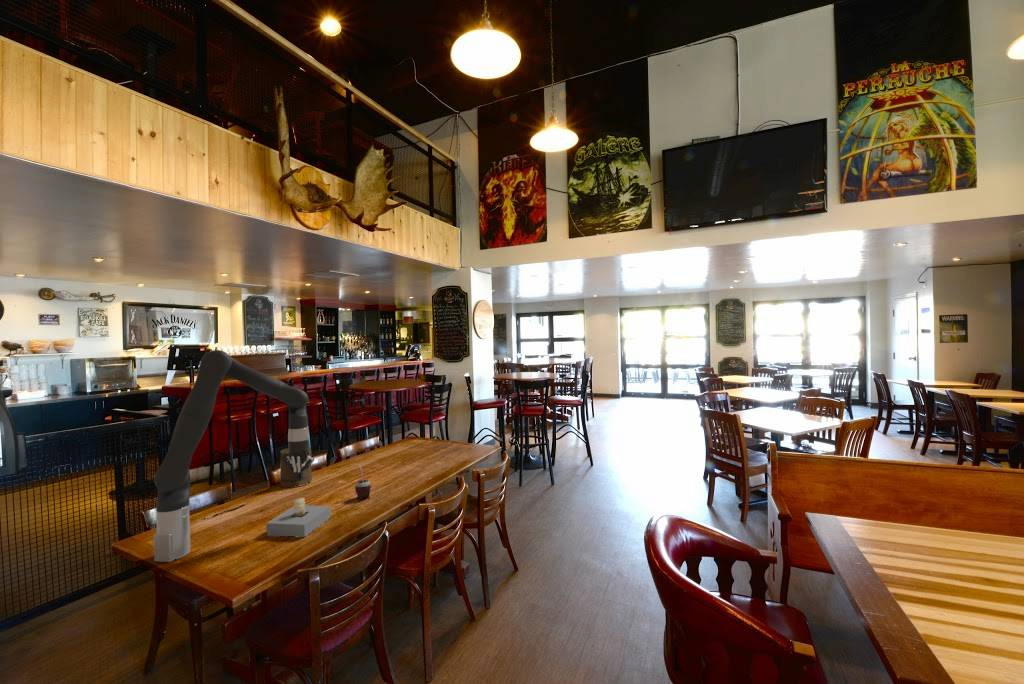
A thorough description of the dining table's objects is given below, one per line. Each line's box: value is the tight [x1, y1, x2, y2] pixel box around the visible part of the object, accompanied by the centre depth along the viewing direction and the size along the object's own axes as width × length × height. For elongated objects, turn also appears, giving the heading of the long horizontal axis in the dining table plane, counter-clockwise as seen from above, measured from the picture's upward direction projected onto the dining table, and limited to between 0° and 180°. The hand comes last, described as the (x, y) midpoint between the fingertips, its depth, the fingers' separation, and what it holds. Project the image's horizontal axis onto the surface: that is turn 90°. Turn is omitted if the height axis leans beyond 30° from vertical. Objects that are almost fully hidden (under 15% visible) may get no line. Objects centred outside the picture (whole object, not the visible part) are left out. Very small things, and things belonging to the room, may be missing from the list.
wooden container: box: [279, 446, 313, 488], centre depth 225 cm, size 15×15×22 cm
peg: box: [293, 497, 306, 517], centre depth 172 cm, size 4×4×11 cm
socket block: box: [266, 504, 331, 538], centre depth 172 cm, size 18×16×5 cm
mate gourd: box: [354, 464, 372, 501], centre depth 202 cm, size 8×8×15 cm
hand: (299, 480), depth 172 cm, fingers closed
